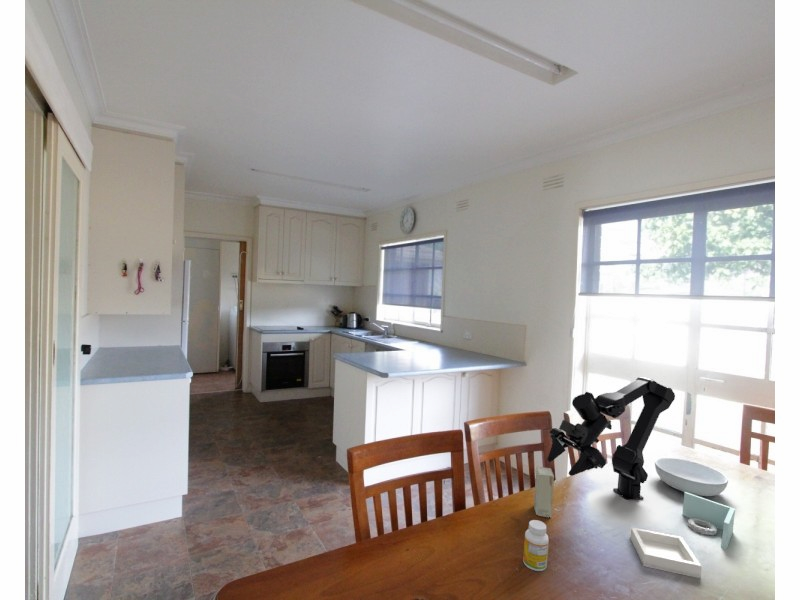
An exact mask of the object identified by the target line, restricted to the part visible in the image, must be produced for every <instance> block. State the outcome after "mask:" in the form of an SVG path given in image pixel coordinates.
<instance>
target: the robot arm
mask: <svg viewBox="0 0 800 600" xmlns="http://www.w3.org/2000/svg"><path fill="white" fill-rule="evenodd" d="M640 398H642V401H643V408H642V410H641V412H640V413H639V416H638V418H637V420H636V422H635V424H634V427H633V429H632V431H631V433H630V435H629V436H628V437H629V438H628V439H627V442H626V443H625V444H623V445H620V444H619V445H617V446H616V449H615V451H614V453H613V454H612V458H611V464H612V465H611V466H612V470H613V472H614V473H616V474H618V480H617V487H615V488H613V491H614V492H615V493H617V494H618V495H619V496H621V497H622V498H623V499H625V500H627V501H628V500H629V501H630V500H644V496H642V495H641V489H642V488H641V487H642V486H641V484H644V483H645V482H646V481H647V480H648V476H649V474H648V472H647V471H646V469H645V468H644V467H643V466H644V464H645V459H644V454H643V451H644V450H645V447H646V445H647V443H648V441H649V438H650V436H651V434H652V432H653V429H654V427H655V425H656V423H657V421H658V418H659V416H660V414H662V413H664V411H667V410H668V409H669V408H670V407H671V404H673V402H674V400H676V399H675V398H676V394H675V392H674V391H673V388H671V387H668V386H665V385H663V384H660V383H658V382H657V381H655V380H654V379H651V378H647V377H643V376H640V377H639V376H638V377H637V378H636V379H635V380H634V381H632V382H631V383H629V384H627V385H626V386H624V387H622V388H620V389H618V390H617V391H614V392H604V393H602V394H599V395H597V397H595V396H594V394H593V393H592V392H589V391H585V393H582V394H579V395H576V396H574V398H573V399H572V403H571V405H572V407H573V409H575V410H576V412H577V414H578V415H579V416H580V418H581V419H582V420H584V421H582V422H581V423H579V422H578V423H576V424H573V423H571V422H569V421H567V420H564V419H562V421H561V423H560V425H559V427H558V428H557V427H556V428H555V427H554V428H552V429H550V431H548V434H549V435H550V436H549V437H550V439H551V447H550V450H549V454H548V455H547V459H546V460H547V463H551V462H552V461H554V460H556V458H558V457H559V456H560V455H562V454H564V452H566V448H569V447H570V448H571V449H573V450H576V451H577V452H579V458H578V459H577V460H576V462H575V463H574V464H573V465H572V467H571V468H570V470H569V472H568V475H569V476H570V477H572V476H575V475H578V474H580V473H583V472H585V471H589V470H592V469H598V468H600V469H603V468H604V467H605V465H606V462H607V459H606V458H605V456H604V455H603V454H602V452H601V451H600V449H598V448H596V447H594V446H593V444H594V443H595V444H598V443H599V442H600V440H599V439H598V438H599V437H600V436H601V434H602V433H603V432H604V431H605V429H607V430H612V427H613V426H612V421H611V419H608V418H607V417H610V418H613V419H618V418H619V417H620V416H621V415H622V414H623V413H625V412H626V407H627V406H628V405H630V404H632V403H633V402H635V401H636V400H637V399H640Z"/></svg>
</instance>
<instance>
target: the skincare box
mask: <svg viewBox="0 0 800 600" xmlns="http://www.w3.org/2000/svg"><path fill="white" fill-rule="evenodd" d="M535 472H536V473H535V484H534V485H535V486H534V488H535V489H534V497H533V498H534V501H533V508H534V511H535V515H536V516H537V515H538V517H544V518H549V517H550V518H552V512H553V510H552V509H553V497H554V483H555V474H554V472H553V470H552V468H550V467H544V466H536V470H535ZM550 518H549V519H550Z"/></svg>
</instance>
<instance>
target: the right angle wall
mask: <svg viewBox="0 0 800 600" xmlns="http://www.w3.org/2000/svg"><path fill="white" fill-rule="evenodd" d="M682 504H683V505H682V516H683V517H687V518H689V519H688V520H687V524H686V525H687V527H689V528H690V529H691V530H693V531H694V532H695V533H700V534H701V535H707V536H709V535H710V536H716V535H717V534H718V529H719V528H720V529H719V530H722V529H723V530H722V537H721V538H722V539H721V546H720V547H721V548H722V549H724V550H727V549H728V545H729V543H730V541H731V538H732V535H733V532H734V525H735V523H734V522H735V513H736V508H734V507H732V506H728V505H725V504H722V503H720V502H717V501H713V500H710V499H707V498H705V497H703V496H699V495H693V494H690V493H687V492H683V503H682ZM706 527H707V528H709V529H707V528H706ZM716 527H717V528H716Z"/></svg>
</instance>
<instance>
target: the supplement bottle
mask: <svg viewBox="0 0 800 600" xmlns="http://www.w3.org/2000/svg"><path fill="white" fill-rule="evenodd" d="M549 542H550V541H549V535H548V534H547V524H546V523H544V522H543V521H541V520H537V519H532V520H530V521H529V522H528V528H527V530H525V533H524V543H523V544H524V545H523V554H522V555H523V556H522V561H523V563H524V565H525V566H526V568H528V569H530V570H532V571H535V572H542V571H545V570H546V569H547V567H548V553H549Z"/></svg>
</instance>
